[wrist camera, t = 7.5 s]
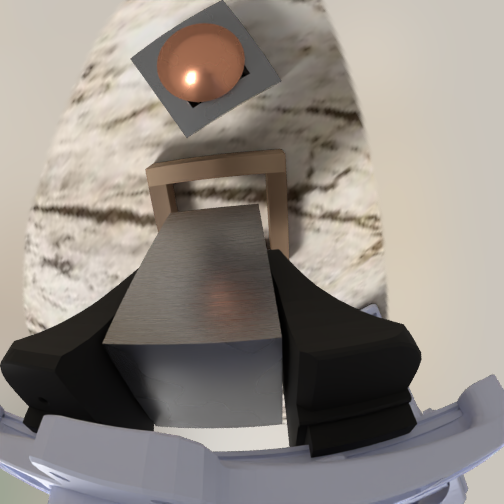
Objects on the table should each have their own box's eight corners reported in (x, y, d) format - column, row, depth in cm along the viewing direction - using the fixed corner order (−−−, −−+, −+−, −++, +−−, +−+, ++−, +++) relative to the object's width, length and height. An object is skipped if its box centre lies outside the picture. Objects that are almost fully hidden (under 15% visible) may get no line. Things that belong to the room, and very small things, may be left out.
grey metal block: (258, 203, 13) (281, 337, 6) (263, 279, 15) (282, 424, 8) (170, 212, 13) (102, 343, 6) (186, 285, 15) (155, 426, 8)
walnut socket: (281, 149, 15) (285, 153, 14) (285, 262, 19) (289, 274, 18) (153, 163, 15) (145, 169, 14) (175, 271, 19) (171, 284, 18)
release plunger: (256, 80, 13) (261, 72, 10) (198, 115, 14) (186, 118, 11) (220, 29, 11) (215, 9, 8) (162, 65, 12) (141, 56, 9)
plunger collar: (273, 85, 14) (281, 80, 11) (196, 132, 15) (186, 137, 12) (225, 17, 11) (222, -1, 9) (149, 65, 13) (130, 58, 10)
